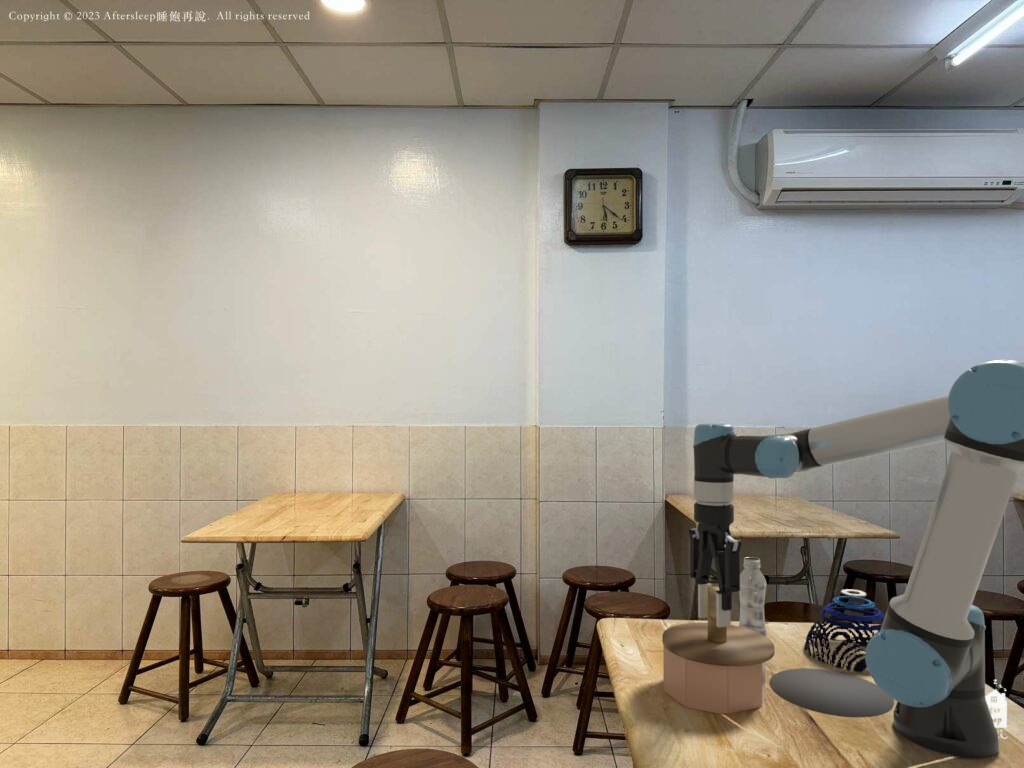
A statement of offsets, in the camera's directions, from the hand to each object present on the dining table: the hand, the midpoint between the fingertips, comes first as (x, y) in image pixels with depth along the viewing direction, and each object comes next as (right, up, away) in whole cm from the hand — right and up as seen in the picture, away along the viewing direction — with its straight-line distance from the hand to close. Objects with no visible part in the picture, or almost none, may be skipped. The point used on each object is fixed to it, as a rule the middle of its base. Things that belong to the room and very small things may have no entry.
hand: (714, 621), depth 134 cm
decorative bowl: (+37, -15, +18) cm, 43 cm away
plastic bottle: (+16, -14, +25) cm, 33 cm away
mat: (+22, -14, -1) cm, 26 cm away
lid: (+1, -5, 0) cm, 5 cm away
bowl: (0, -14, 0) cm, 14 cm away
